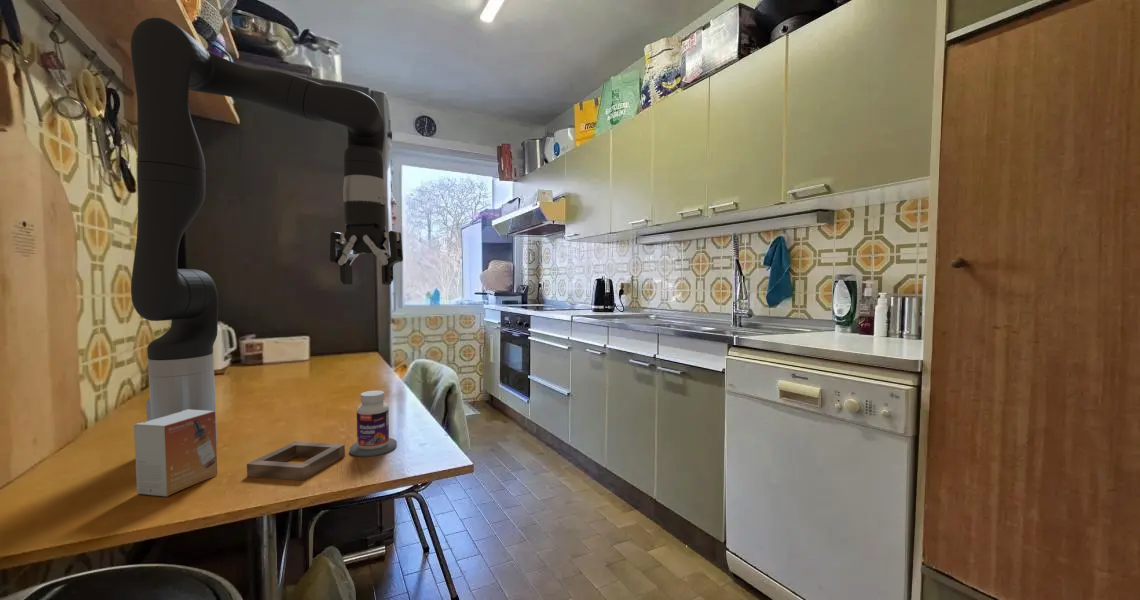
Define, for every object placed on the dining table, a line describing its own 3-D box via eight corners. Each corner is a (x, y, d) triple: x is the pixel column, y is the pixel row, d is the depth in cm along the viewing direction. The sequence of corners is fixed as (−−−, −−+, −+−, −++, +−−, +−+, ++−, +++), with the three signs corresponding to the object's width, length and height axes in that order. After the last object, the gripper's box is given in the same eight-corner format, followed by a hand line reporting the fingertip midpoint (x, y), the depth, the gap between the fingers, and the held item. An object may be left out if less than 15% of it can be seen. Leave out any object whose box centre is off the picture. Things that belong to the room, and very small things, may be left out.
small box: (166, 498, 66) (162, 426, 65) (135, 494, 67) (131, 423, 66) (219, 474, 74) (216, 410, 73) (191, 472, 75) (187, 408, 74)
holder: (247, 476, 73) (246, 463, 73) (294, 452, 83) (294, 441, 83) (303, 480, 71) (302, 467, 71) (344, 455, 81) (344, 444, 81)
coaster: (339, 455, 81) (339, 452, 81) (366, 439, 89) (366, 436, 89) (381, 458, 80) (381, 454, 80) (405, 441, 88) (404, 438, 88)
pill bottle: (356, 452, 81) (355, 397, 81) (357, 442, 86) (356, 390, 85) (389, 448, 83) (388, 395, 83) (389, 438, 88) (388, 388, 88)
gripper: (318, 200, 87) (321, 285, 88) (387, 197, 85) (389, 284, 86) (344, 206, 95) (346, 284, 96) (408, 203, 93) (410, 284, 93)
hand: (367, 284), depth 91 cm, fingers open, 8 cm apart
